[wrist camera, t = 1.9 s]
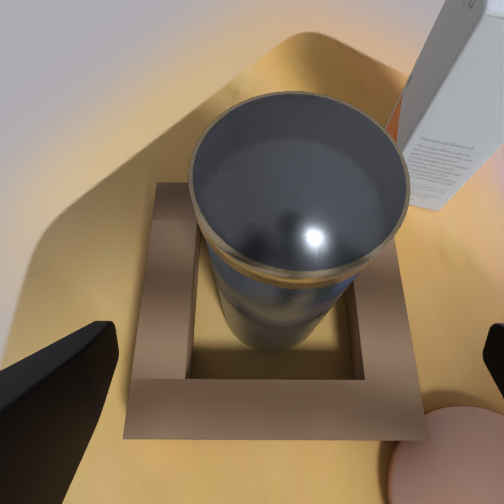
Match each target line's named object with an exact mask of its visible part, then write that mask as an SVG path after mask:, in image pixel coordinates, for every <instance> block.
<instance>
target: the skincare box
mask: <svg viewBox="0 0 504 504" xmlns="http://www.w3.org/2000/svg"><path fill="white" fill-rule="evenodd" d="M384 129H385V130H386V131H387V132H388V133H389V134H390V135H391V137H392V138H393V139H394V141H395V142H396V143H397V145H398V147H399V149H400V151H401V152H402V154H403V156H404V159H405V162H406V164H407V167H408V172H409V177H410V190H411V191H410V201H409V205H411V206H415V207H420V208H424V209H429V210H433V211H439V210H440V209H441V208H442V207H443V206H444V205H445V204H446V203H447V202H448V201H449V200H450V199H451V198H452V197H453V196H454V195H455V194H456V192H457V191H458V190H459V189H460V188H461V187H462V186H463V185H464V184H465V183H466V182H467V181H468V180H469V179H470V178H471V177H472V175H473V174H474V173H475V172H476V171H477V170H478V169H479V168H480V167H481V166H482V165H483V164H484V163H485V162H486V161H487V160H488V159H489V158H490V157H491V155H492V154H493V153H494V152H495V151H496V150H497V149H498V148H499V147H500V146H501V145H502V144H503V143H504V0H445V3H444V5H443V7H442V9H441V11H440V13H439V15H438V17H437V19H436V21H435V24H434V26H433V28H432V30H431V32H430V34H429V36H428V38H427V40H426V42H425V45H424V47H423V49H422V51H421V53H420V55H419V57H418V59H417V61H416V63H415V65H414V68H413V70H412V72H411V74H410V76H409V78H408V80H407V82H406V84H405V87H404V89H403V91H402V93H401V95H400V97H399V99H398V101H397V103H396V105H395V107H394V109H393V112H392V114H391V116H390V118H389V120H388V122H387V124H386V126H385V128H384Z"/></svg>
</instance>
